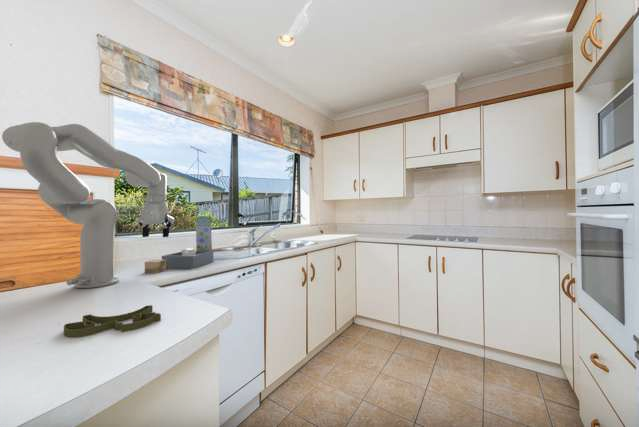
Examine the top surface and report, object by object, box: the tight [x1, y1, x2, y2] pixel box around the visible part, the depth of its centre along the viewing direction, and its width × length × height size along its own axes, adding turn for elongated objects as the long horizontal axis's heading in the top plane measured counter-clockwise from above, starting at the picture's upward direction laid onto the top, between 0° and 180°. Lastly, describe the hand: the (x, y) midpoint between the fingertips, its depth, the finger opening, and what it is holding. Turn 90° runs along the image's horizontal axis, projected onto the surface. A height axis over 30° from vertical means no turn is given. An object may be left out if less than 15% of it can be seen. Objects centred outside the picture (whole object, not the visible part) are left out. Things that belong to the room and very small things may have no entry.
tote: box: [161, 250, 214, 269], centre depth 138 cm, size 20×16×6 cm
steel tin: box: [181, 247, 196, 256], centre depth 137 cm, size 7×7×7 cm
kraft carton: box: [144, 259, 167, 274], centre depth 121 cm, size 6×6×5 cm
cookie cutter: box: [63, 304, 162, 339], centre depth 62 cm, size 18×12×2 cm, turn 121°
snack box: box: [195, 214, 213, 251], centre depth 162 cm, size 22×9×26 cm, turn 25°
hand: (155, 236), depth 121 cm, fingers open, 9 cm apart
